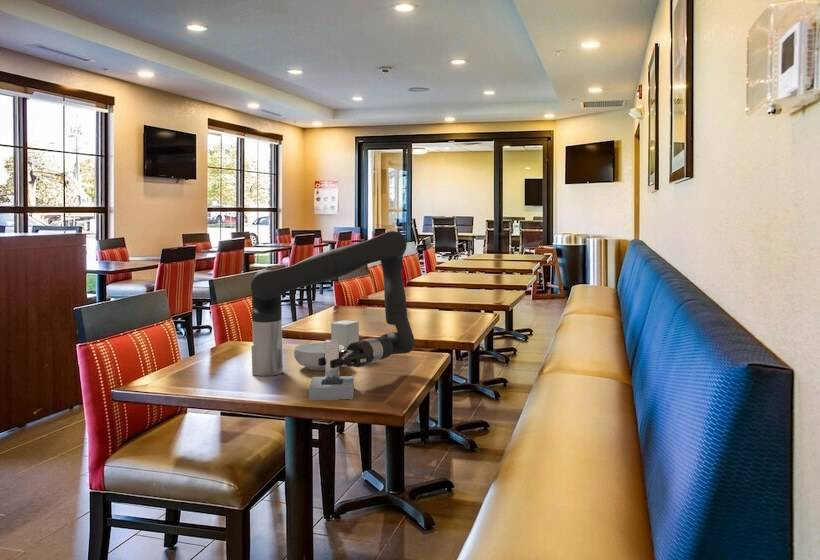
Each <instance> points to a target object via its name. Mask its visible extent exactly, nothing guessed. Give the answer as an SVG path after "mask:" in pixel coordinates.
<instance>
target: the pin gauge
mask: <svg viewBox="0 0 820 560" xmlns="http://www.w3.org/2000/svg"><path fill="white" fill-rule="evenodd" d="M323 343H324V344H325V370H324V373H325V374H324V377H325V383H326V385H338V384H340V366H339V367H336V368H330V361H331V360H334V359H338V358H339V340H336V339H329V338H328V339H325V340H324V342H323Z"/></svg>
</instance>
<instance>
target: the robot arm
mask: <svg viewBox="0 0 820 560" xmlns="http://www.w3.org/2000/svg"><path fill="white" fill-rule="evenodd" d="M407 245H408V242H407V238H406V236H404V234H403V233H401V232H399V231H396V230H389V231H386V232H383V233H381V234H379V235H377V236H374V237H372V238H370V239H367V240H364V241H362V242H361V241H360V242H358V243H353V244H350V245H345V246H339V247H337V248H332V249H330V250H326V251H324V252H323V251H322V252H320V253H317V254H314V255H312V256H309V257H307V258H306V259H303V260H301V261H299V262H297V263H295V264H292V265H289V266H286V267H281V268H278V269H261V270H259V271H258V272H256V273H255V274H254V275H253V277H252V278H251V281H250V290H251V303H252V304H251V325H252V327H251V328H252V345H251V373H252V375H253V376H260V377H267V376H268V377H269V376H276V375H281V374H282V373H283V372H284V371H283V370H284V365H283V362H284V361H283V360H284V359H283V324H282V323H283V321H282V318H283V317H282V314H283V313H282V295H284V294H286V293H288V292H291V291H293V290H295V289H299V288H302V287H308V286H314V285H317V284H321V283H323V282H329V281H331V280H336V279H338V278H342V277H344V276H347V275H349V274H350V273H353V272H354V271H358V269H361V268H362V267H364V266H366V265H369V264H372V263H377V262H380V265H381V268H382V275H383V277H382V278H383V285H384V286H383V292H384V311H385V313H384V314H385V316H384V317H385V321H386V324H388V325H391V326H395V328H396V332H389V333H388V332H387V333H385V334H382V335H380V336H377V337H371V338H366V339H365V338H364V339H361V340H359V341H357V342H353V343H351V344H349V345H348V347H347V349H344V350H341V351H339V358H338V359H334V360H331V361H330V368H336V367H339V368H340V367H347V368H351V367H354V368H361V367H365V366H368V365H371V364H373V363H376V362H378V361H380V360H384V359H387V358H388V357H390V356H391V355H400V354H401V355H402V354H409V353H410V352H412V351H413V349H414V346H415V337H414V333H413V330H412V328H411V324H410V321H409V319H408V308H407V298H406V291H405V285H404V280H403V258H404V254H405V253H406V250H407V247H408V246H407ZM318 365H319V366H323V365H325V354H324V357H322V358H319V359H318Z"/></svg>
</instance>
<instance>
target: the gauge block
mask: <svg viewBox="0 0 820 560" xmlns="http://www.w3.org/2000/svg"><path fill="white" fill-rule="evenodd" d="M339 376H340V375H339ZM354 389H355V376H353V375H352V376H351V375H350V376H349V375H348V376H345V375H344V376H343V375H341V376H340V384H338V385H326V383H325V376H312V378H311V380H310V384H309V387H308V400H309V401H335V400H336V401H340V400H339V399H351V400H354V391H355V390H354Z"/></svg>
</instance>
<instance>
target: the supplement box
mask: <svg viewBox="0 0 820 560" xmlns="http://www.w3.org/2000/svg"><path fill="white" fill-rule="evenodd" d="M359 323H360V322H359V321H354V320H344V319H343V320H337V321H334V322H331V323H330V335H331V337H330V338H331V339H336V340H339V345H342V346H344V348H345V349H347V347H348V345H349V344H351V343H353V342H357V341H360V329H359V328H360V324H359Z"/></svg>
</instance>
